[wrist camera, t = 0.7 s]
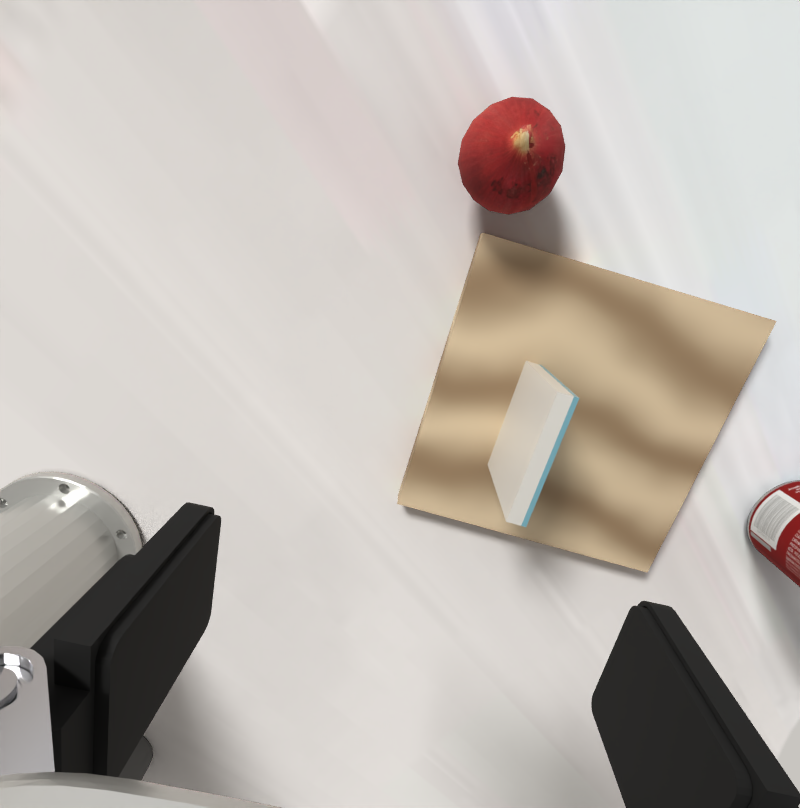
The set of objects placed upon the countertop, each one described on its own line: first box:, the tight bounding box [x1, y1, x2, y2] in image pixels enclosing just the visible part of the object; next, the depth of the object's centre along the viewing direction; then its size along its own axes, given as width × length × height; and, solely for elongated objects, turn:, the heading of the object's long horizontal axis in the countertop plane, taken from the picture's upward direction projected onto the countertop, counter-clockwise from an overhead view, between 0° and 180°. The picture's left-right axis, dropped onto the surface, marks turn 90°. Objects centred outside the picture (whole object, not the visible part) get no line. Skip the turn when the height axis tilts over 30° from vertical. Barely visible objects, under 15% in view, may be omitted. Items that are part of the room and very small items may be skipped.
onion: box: [458, 97, 565, 214], centre depth 27 cm, size 6×6×8 cm
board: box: [397, 233, 776, 572], centre depth 35 cm, size 20×20×2 cm
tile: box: [488, 361, 579, 527], centre depth 30 cm, size 8×1×8 cm, turn 164°
